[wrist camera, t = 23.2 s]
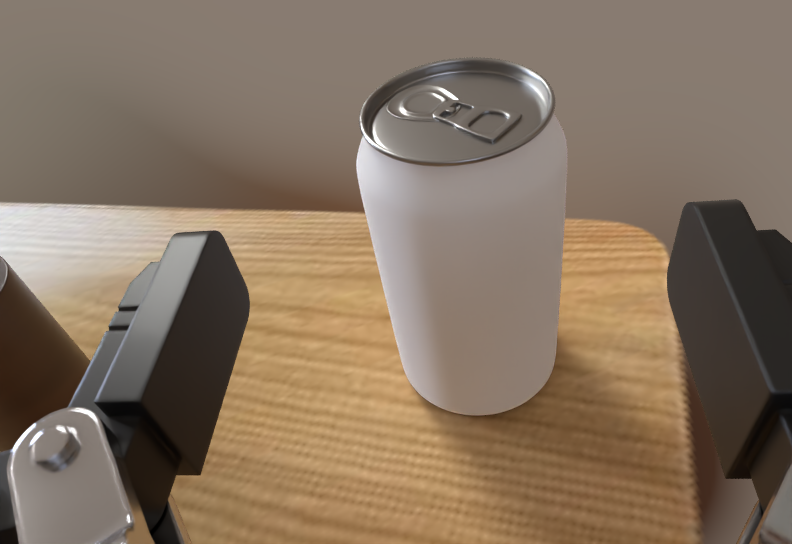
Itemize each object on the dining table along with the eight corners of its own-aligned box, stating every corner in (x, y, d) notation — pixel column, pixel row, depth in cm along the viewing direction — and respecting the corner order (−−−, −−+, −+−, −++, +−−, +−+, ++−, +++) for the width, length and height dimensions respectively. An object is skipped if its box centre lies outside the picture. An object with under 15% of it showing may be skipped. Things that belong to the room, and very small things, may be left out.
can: (461, 278, 29) (435, 36, 21) (585, 338, 26) (614, 76, 17) (371, 370, 26) (298, 131, 18) (498, 452, 23) (482, 202, 14)
